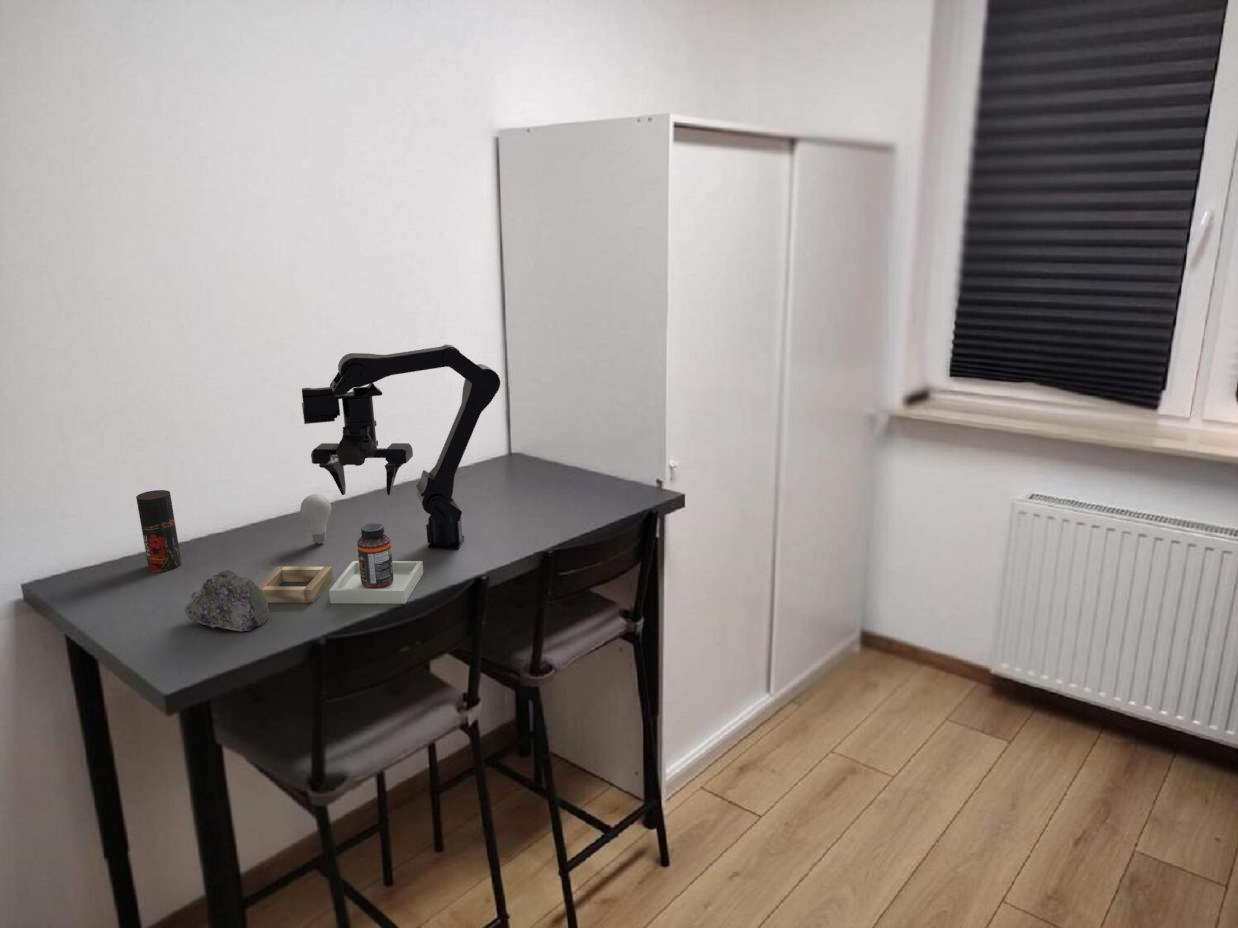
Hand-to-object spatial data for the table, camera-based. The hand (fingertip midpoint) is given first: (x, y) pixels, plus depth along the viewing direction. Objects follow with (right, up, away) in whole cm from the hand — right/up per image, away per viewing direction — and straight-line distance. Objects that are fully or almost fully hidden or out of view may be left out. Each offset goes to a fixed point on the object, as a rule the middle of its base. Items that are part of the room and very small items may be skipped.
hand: (366, 494), depth 179 cm
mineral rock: (-17, -21, -25) cm, 37 cm away
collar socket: (-10, -17, -13) cm, 24 cm away
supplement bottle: (+5, -16, -12) cm, 21 cm away
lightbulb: (-13, -11, +10) cm, 19 cm away
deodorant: (-40, -14, -1) cm, 43 cm away
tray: (+6, -17, -12) cm, 21 cm away
